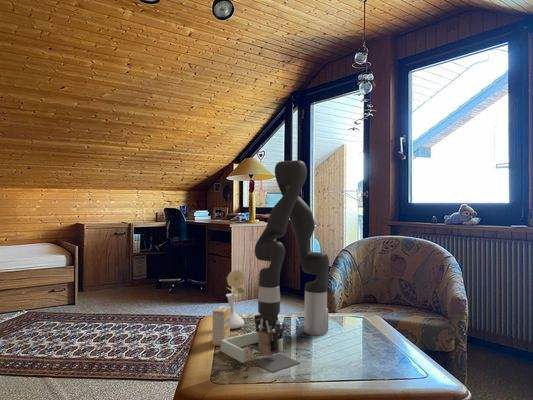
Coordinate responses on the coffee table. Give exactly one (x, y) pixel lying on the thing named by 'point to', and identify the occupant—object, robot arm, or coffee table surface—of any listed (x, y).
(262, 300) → the robot arm
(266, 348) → the walnut block
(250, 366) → the coffee table surface
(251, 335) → the open-side box
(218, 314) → the supplement box
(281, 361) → the charcoal mat
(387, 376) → the coffee table surface
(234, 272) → the flower in vase
